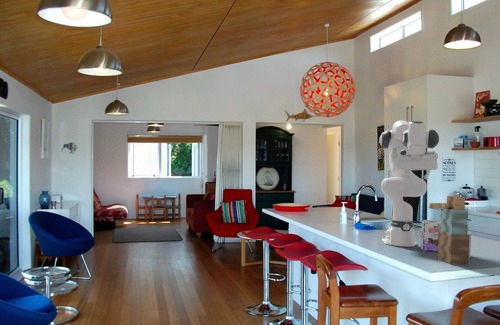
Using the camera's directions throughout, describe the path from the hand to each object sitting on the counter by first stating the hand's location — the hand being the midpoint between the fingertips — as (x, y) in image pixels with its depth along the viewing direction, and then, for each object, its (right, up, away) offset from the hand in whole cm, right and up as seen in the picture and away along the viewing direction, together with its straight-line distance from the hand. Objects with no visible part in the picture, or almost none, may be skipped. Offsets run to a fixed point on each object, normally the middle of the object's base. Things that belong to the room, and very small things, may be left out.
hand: (416, 179), depth 246 cm
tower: (+15, -40, -8) cm, 44 cm away
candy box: (+16, -40, +19) cm, 47 cm away
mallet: (+11, -14, -9) cm, 20 cm away
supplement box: (+26, -41, +5) cm, 48 cm away
